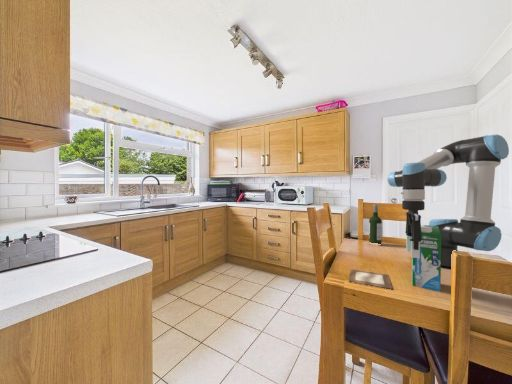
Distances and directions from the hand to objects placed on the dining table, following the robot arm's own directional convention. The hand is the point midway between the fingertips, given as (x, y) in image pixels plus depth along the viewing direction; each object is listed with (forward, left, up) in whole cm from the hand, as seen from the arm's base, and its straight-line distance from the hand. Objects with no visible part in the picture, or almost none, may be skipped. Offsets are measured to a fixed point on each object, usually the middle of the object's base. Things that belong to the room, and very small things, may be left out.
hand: (412, 254), depth 91 cm
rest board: (+16, 0, -13) cm, 21 cm away
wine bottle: (+10, -68, -14) cm, 70 cm away
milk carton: (-5, -4, -14) cm, 15 cm away
